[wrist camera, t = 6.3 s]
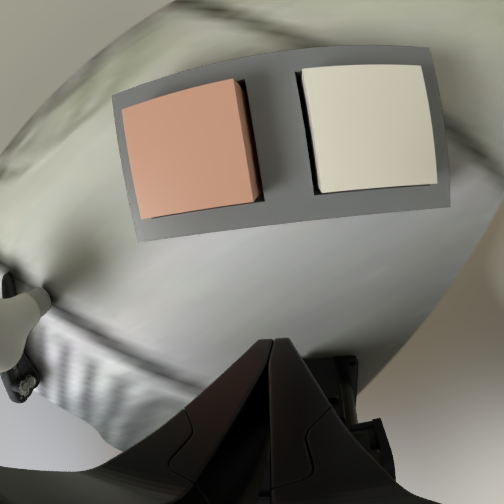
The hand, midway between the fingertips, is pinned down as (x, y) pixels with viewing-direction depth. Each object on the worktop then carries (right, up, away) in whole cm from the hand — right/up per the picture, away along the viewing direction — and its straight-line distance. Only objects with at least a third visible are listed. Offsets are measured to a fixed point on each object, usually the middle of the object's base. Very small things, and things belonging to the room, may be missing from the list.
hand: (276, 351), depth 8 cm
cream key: (+5, +10, +8) cm, 13 cm away
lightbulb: (-20, -1, +17) cm, 26 cm away
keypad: (+1, +9, +9) cm, 13 cm away
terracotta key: (-3, +9, +9) cm, 13 cm away
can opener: (-28, -7, +20) cm, 36 cm away
